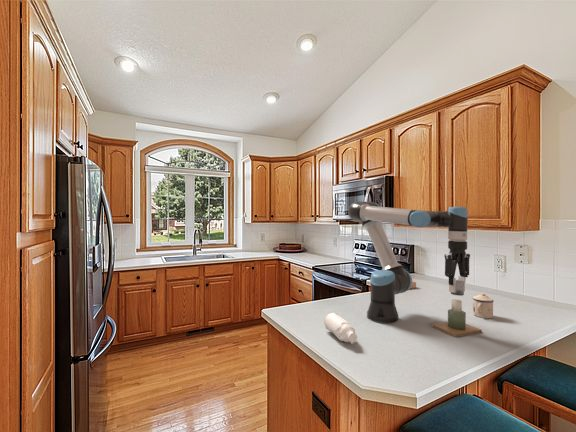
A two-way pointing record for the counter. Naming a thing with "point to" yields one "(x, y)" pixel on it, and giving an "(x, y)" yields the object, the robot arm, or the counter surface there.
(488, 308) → the teacup with lid
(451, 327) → the brown board with cylinder
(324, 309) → the counter surface
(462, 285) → the cap
